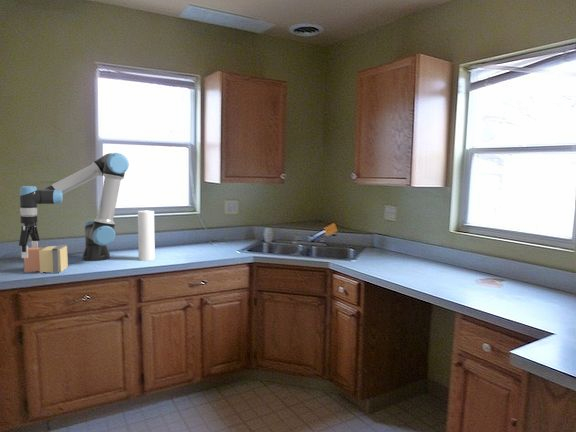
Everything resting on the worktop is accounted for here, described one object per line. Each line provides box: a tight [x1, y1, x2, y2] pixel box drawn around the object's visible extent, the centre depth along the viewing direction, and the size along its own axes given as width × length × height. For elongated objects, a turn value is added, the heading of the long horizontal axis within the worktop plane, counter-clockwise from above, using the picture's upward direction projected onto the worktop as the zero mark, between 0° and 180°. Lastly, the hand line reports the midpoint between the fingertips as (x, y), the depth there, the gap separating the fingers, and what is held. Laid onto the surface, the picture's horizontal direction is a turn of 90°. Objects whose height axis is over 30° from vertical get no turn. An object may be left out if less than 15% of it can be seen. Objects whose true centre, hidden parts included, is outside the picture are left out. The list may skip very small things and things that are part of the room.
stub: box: [23, 246, 46, 273], centre depth 220 cm, size 8×6×12 cm
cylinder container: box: [137, 209, 156, 262], centre depth 252 cm, size 9×9×30 cm
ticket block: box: [39, 243, 69, 274], centre depth 222 cm, size 10×15×13 cm, turn 13°
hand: (30, 255), depth 219 cm, fingers open, 13 cm apart
